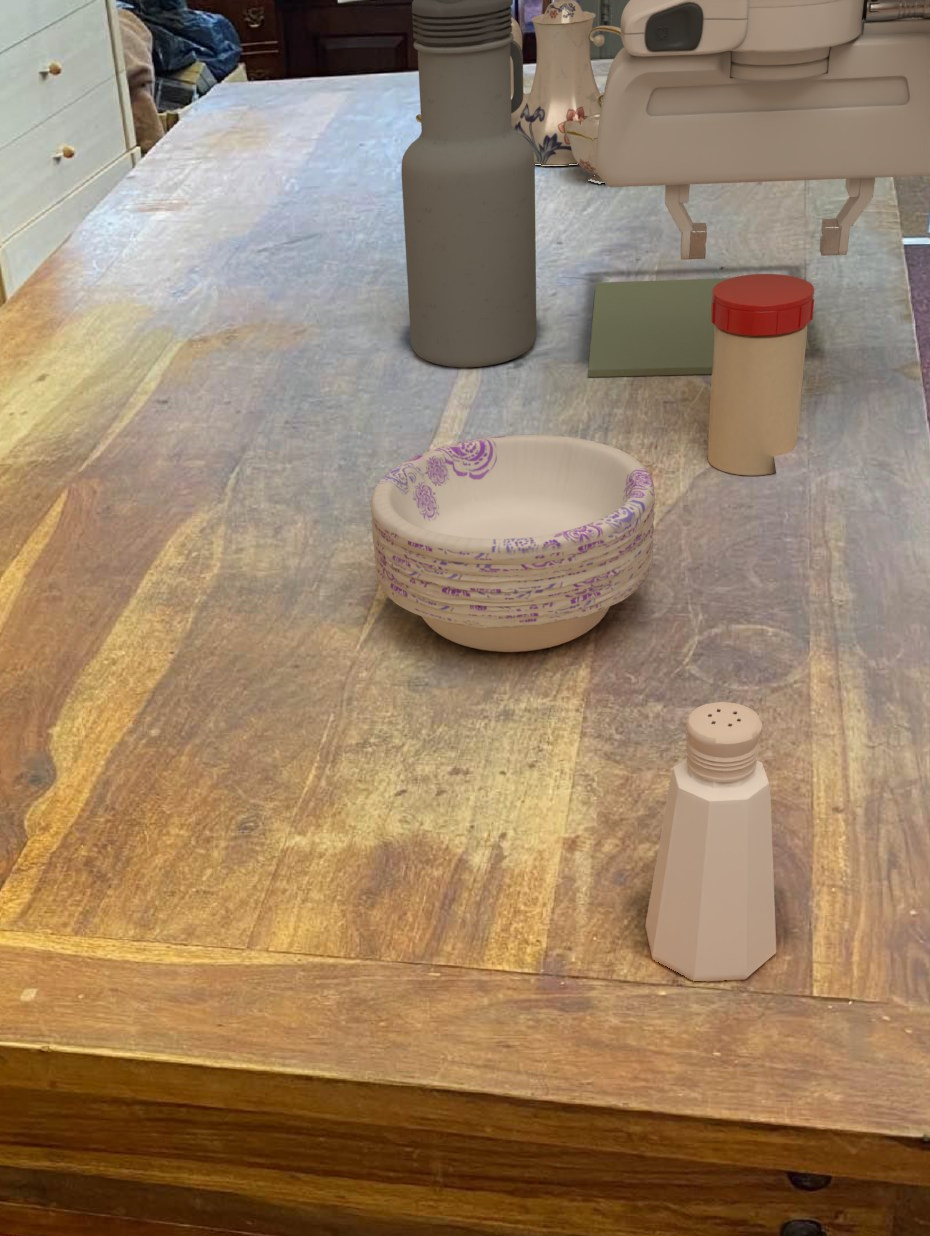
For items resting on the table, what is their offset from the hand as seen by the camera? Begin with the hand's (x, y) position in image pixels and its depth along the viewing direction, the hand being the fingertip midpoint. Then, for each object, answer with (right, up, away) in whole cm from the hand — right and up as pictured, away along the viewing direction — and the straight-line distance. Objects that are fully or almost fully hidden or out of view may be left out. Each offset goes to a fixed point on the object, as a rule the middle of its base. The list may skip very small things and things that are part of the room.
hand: (762, 255), depth 98 cm
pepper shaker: (-10, -39, -31) cm, 51 cm away
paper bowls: (-16, -23, -7) cm, 28 cm away
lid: (0, -2, +1) cm, 2 cm away
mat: (+2, +4, +28) cm, 28 cm away
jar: (+1, -11, +7) cm, 13 cm away
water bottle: (-15, +2, +29) cm, 32 cm away
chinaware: (-3, +34, +71) cm, 79 cm away
